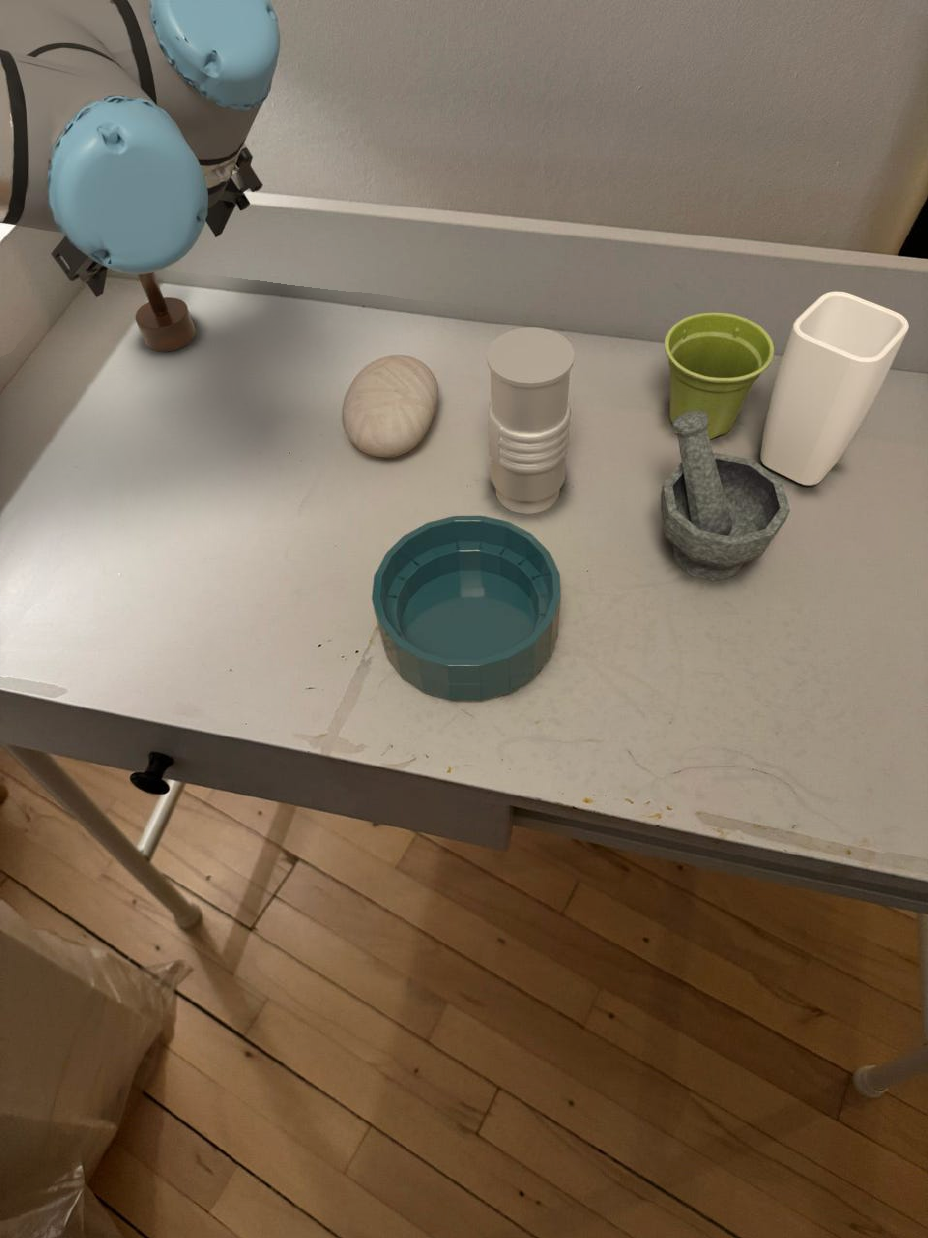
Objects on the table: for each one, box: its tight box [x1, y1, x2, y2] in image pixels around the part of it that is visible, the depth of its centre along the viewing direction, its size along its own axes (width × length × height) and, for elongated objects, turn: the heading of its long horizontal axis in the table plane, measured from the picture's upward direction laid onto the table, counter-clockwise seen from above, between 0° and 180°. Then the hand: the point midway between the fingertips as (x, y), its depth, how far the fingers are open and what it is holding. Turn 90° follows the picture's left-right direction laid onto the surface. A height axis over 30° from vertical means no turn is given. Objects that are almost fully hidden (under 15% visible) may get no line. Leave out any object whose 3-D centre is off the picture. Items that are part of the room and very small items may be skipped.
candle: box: [486, 326, 576, 515], centre depth 70 cm, size 7×7×15 cm
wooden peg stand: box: [134, 272, 197, 353], centre depth 86 cm, size 6×6×15 cm
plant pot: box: [664, 312, 775, 440], centre depth 77 cm, size 9×9×9 cm
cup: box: [760, 291, 910, 486], centre depth 71 cm, size 7×7×15 cm
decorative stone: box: [341, 354, 439, 458], centre depth 80 cm, size 13×9×5 cm
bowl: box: [371, 515, 562, 702], centre depth 65 cm, size 14×14×6 cm
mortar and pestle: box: [660, 411, 791, 582], centre depth 67 cm, size 11×9×12 cm
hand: (152, 251), depth 81 cm, fingers open, 13 cm apart
